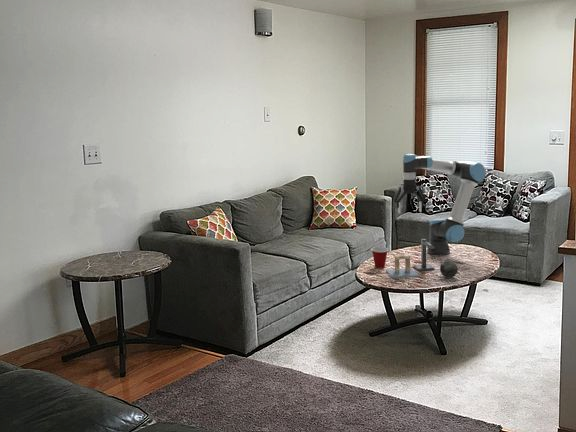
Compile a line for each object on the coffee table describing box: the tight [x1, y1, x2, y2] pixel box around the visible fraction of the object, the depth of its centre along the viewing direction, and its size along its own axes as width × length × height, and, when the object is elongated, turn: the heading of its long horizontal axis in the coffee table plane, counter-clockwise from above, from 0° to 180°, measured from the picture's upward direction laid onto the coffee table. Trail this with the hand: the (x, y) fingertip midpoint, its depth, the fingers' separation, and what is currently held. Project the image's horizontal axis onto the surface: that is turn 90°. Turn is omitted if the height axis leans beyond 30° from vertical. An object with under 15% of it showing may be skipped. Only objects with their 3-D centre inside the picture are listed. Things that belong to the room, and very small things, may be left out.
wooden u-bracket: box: [394, 253, 411, 274], centre depth 376 cm, size 8×5×10 cm, turn 95°
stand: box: [413, 238, 435, 272], centre depth 380 cm, size 10×22×18 cm, turn 5°
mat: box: [385, 267, 420, 279], centre depth 377 cm, size 16×16×1 cm
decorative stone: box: [439, 260, 458, 278], centre depth 365 cm, size 10×10×10 cm
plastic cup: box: [371, 246, 389, 269], centre depth 394 cm, size 11×11×12 cm
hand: (409, 212), depth 397 cm, fingers open, 13 cm apart
